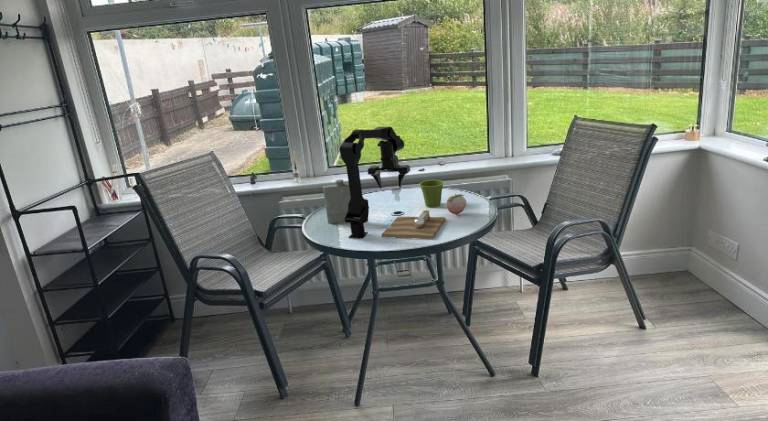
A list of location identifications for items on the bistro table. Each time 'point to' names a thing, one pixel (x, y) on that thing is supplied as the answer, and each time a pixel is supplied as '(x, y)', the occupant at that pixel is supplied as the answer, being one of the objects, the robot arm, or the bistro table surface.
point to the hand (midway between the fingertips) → (390, 188)
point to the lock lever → (422, 219)
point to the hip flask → (337, 201)
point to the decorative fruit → (456, 204)
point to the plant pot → (432, 192)
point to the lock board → (414, 228)
